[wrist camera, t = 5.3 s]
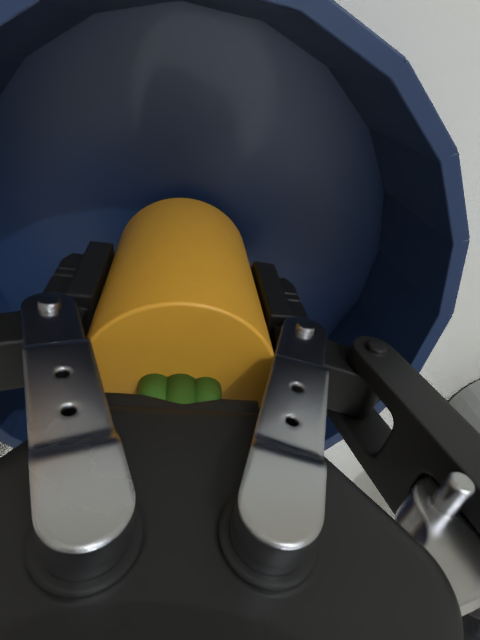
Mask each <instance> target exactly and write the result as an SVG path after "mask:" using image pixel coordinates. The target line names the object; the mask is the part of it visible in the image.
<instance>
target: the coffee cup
mask: <svg viewBox="0 0 480 640" xmlns="http://www.w3.org/2000/svg"><path fill="white" fill-rule="evenodd" d="M448 403H449V404H451V405H452V406H453V407H454V408H455V409H456V410H457V411H458V412H459V413H460V414H461V415H462V416H463V417H464V418H465V419H466V420H467V421H468V422H469V423H470V424H471V425H472V426H473V427H474V428H475V429H476V430H477V431H478V432H479V433H480V380H478V381H476V382H474V383H472V384H470V385H468V386H467V387H466V388H464V389H463V390H461V391H460V392H459V393H458V394H456V395H455V396H454V397H453V398H452V399H451V400H450V401H449V402H448Z"/></svg>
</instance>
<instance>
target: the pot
mask: <svg viewBox="0 0 480 640" xmlns="http://www.w3.org/2000/svg"><path fill="white" fill-rule="evenodd" d="M170 198H191V199H195V200H200V201H203V202H205V203H208V204H210V205H212V206H214V207H216V208H217V209H219V210H220V211H222V212H223V213H224V214H225V215H226V216H228V217H229V218H230V220H231V221H232V222H233V223H234V224H235V226H236V227H237V229H238V230H239V232H240V235H241V237H242V239H243V243H244V246H245V250H246V253H247V257H248V261H249V264H250V268H251V266H252V263H253V262H254V261H256V262H264V263H272V264H274V265H275V268H276V270H277V273H278V276H279V278H286V279H287V280H288V281H290V282H291V283H292V284H293V285H294V286H295V288H296V290H297V293H298V296H299V297H300V300H301V302H302V304H303V307H304V309H305V311H306V314H307V316H308V318H309V319H311V320H314V321H316V322H317V323H319V324H320V325H321V326H323V328H324V329H325V330H326V333H327V339H328V340H331V341H334V342H337V343H340V344H343V345H347V346H350V347H351V346H352V343H353V341H354V339H355V338H357V337H359V336H370V337H375V338H378V339H380V340H382V341H384V342H386V343H388V344H389V345H391V346H392V347H393V348H394V349H395V350H396V351H397V352H398V353H399V354H400V355H401V356H402V357H403V358H404V359H405V360H406V361H407V362H408V363H409V364H410V365H411V366H412V367H413V368H414V369H415V370H416V371H417V372H418V373H419V372H420V371H421V369H422V367H423V365H424V364H425V362H426V360H427V358H428V357H429V355H430V353H431V352H432V350H433V348H434V346H435V345H436V343H437V341H438V339H439V338H440V336H441V334H442V333H443V331H444V329H445V327H446V326H447V324H448V322H449V320H450V319H451V317H452V314H453V312H454V308H455V303H456V299H457V294H458V290H459V285H460V281H461V276H462V272H463V267H464V263H465V258H466V254H467V250H468V245H469V238H470V237H469V230H468V222H467V214H466V206H465V198H464V191H463V183H462V175H461V167H460V159H459V153H458V150H457V147H456V146H455V144H454V142H453V140H452V138H451V137H450V135H449V133H448V131H447V129H446V128H445V126H444V124H443V122H442V120H441V119H440V117H439V115H438V113H437V111H436V110H435V108H434V106H433V104H432V102H431V101H430V99H429V97H428V95H427V93H426V92H425V90H424V88H423V86H422V84H421V83H420V81H419V79H418V77H417V75H416V74H415V72H414V70H413V68H412V66H411V65H410V63H409V61H408V60H406V58H405V56H403V55H402V54H401V53H399V52H398V51H397V50H396V49H394V48H393V47H392V46H391V45H389V44H388V43H387V42H386V41H384V40H383V39H382V38H380V37H379V36H378V35H377V34H375V33H374V32H373V31H372V30H370V29H369V28H368V27H367V26H365V25H364V24H363V23H361V22H360V21H359V20H358V19H356V18H355V17H354V16H353V15H351V14H350V13H349V12H348V11H346V10H345V9H344V8H342V7H341V6H340V5H339V4H337V3H336V2H335V1H334V0H0V313H8V312H15V311H19V310H21V308H20V307H21V303H22V302H23V301H24V300H25V299H26V298H28V297H29V296H32V295H34V294H38V293H43V291H44V290H45V288H46V286H47V284H48V283H49V281H50V279H51V277H52V276H53V275H54V272H55V271H56V269H57V267H58V265H59V264H60V262H61V260H62V259H63V258H65V257H67V256H68V255H70V254H72V253H78V254H84V253H85V251H86V248H87V246H88V244H89V242H90V241H97V242H105V243H113V244H114V255H115V252H116V249H117V246H118V243H119V240H120V237H121V235H122V233H123V230H124V228H125V227H126V225H127V224H128V222H129V221H130V220H131V219H132V217H133V216H134V215H136V214H137V213H138V212H139V211H140V210H142V209H143V208H145V207H146V206H148V205H150V204H152V203H154V202H157V201H161V200H164V199H170ZM385 407H386V406H385V405H384V404H383V402H382V401H381V400H380V399H378V400H377V402H376V404H375V406H374V409H375V410H376V411H377V413H378V414H379V413H380V412H381V411H382V410H383V409H384V408H385ZM27 439H28V433H27V418H26V403H25V388H24V387H23V388H17V389H11V390H5V391H0V442H2V443H4V444H6V445H8V446H11V447H13V448H15V447H17V446H18V445H20V444H21V443H22V442H24V441H25V440H27ZM342 439H343V437H342V436H341V434H340V433H339V431H338V430H337V429H336V427H335V426H334V424H333V423H332V421H331V420H330V418H329V417H328V415H327V414H326V429H325V444H324V451H325V450H326V449H328V448H330V447H331V446H333V445H334V444H336V443H338V442H339V441H341V440H342Z"/></svg>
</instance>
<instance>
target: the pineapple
mask: <svg viewBox="0 0 480 640" xmlns="http://www.w3.org/2000/svg"><path fill="white" fill-rule="evenodd" d="M86 338H90V340H91V343H92V347H93V350H94V354H95V358H96V362H97V365H98V369H99V373H100V376H101V380H102V384H103V388H104V391H105V392H108V393H125V394H143V395H147V396H151V397H155V398H159V399H163V400H167V401H171V402H175V403H179V404H189V403H196V402H203V401H210V400H217V399H232V400H250V401H258V407H259V405H260V402H261V398H262V395H263V392H264V388H265V385H266V382H267V378H268V375H269V371H270V368H271V364H272V361H273V357H274V351H273V348H272V344H271V340H270V337H269V333H268V330H267V326H266V322H265V319H264V315H263V311H262V308H261V304H260V301H259V297H258V293H257V290H256V286H255V282H254V279H253V275H252V272H251V268H250V264H249V261H248V257H247V253H246V250H245V246H244V243H243V239H242V237H241V235H240V232H239V230H238V229H237V227H236V226H235V224H234V223H233V222H232V221H231V220H230V218H229V217H228V216H226V215H225V214H224V213H223V212H222V211H220V210H219V209H217V208H216V207H214V206H212V205H210V204H208V203H205V202H203V201H200V200H195V199H191V198H170V199H164V200H161V201H157V202H154V203H152V204H150V205H148V206H146V207H145V208H143V209H142V210H140V211H139V212H138V213H137V214H136V215H134V216H133V217H132V219H131V220H130V221H129V222H128V224H127V225H126V227H125V228H124V230H123V233H122V235H121V237H120V240H119V243H118V246H117V249H116V252H115V255H114V258H113V261H112V264H111V266H110V269H109V272H108V275H107V278H106V281H105V284H104V287H103V290H102V293H101V296H100V298H99V301H98V304H97V307H96V310H95V313H94V316H93V319H92V322H91V325H90V328H89V330H88V333H87V336H86Z"/></svg>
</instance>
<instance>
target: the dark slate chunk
mask: <svg viewBox="0 0 480 640" xmlns="http://www.w3.org/2000/svg"><path fill="white" fill-rule="evenodd" d="M462 621H463V632H464V640H480V620H479V619H476V618H474V617H472V616H470V615H469V614H466V615H464V616H462Z"/></svg>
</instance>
